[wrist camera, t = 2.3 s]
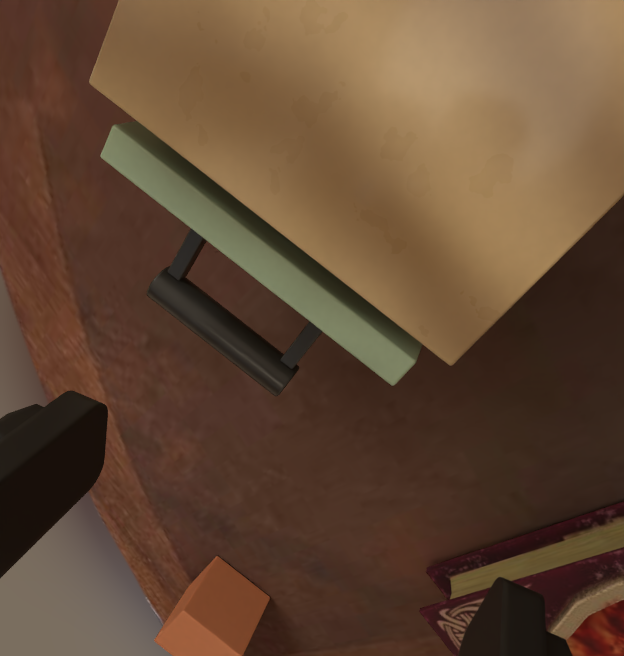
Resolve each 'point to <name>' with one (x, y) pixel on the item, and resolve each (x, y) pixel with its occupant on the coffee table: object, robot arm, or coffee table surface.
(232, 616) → the block
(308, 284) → the drawer
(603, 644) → the book
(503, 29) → the cabinet
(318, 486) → the coffee table surface
